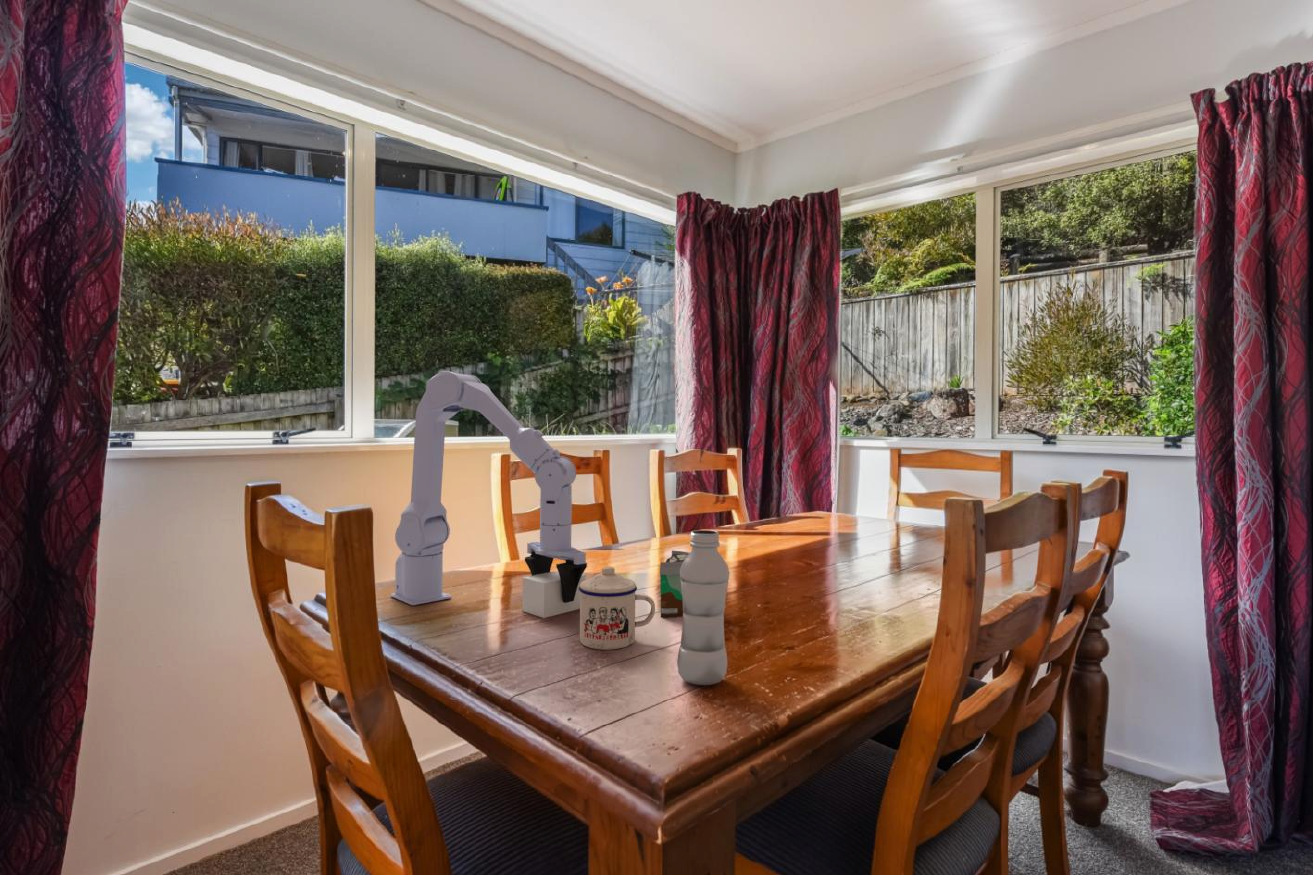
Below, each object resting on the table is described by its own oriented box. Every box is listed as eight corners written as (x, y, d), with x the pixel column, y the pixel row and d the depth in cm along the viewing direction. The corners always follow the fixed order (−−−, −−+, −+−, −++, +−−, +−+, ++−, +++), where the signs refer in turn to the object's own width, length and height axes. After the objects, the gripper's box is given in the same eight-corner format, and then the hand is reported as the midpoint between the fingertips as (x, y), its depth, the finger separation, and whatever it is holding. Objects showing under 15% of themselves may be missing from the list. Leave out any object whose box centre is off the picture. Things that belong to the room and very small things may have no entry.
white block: (522, 610, 120) (522, 577, 120) (563, 600, 127) (564, 569, 127) (543, 618, 116) (544, 583, 116) (585, 607, 123) (585, 574, 123)
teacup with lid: (576, 651, 100) (577, 574, 99) (580, 632, 109) (580, 561, 108) (656, 651, 100) (657, 574, 100) (653, 632, 109) (654, 561, 109)
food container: (693, 622, 115) (694, 564, 115) (659, 619, 116) (659, 562, 116) (703, 603, 127) (704, 551, 127) (671, 601, 128) (672, 549, 128)
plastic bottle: (674, 673, 91) (676, 528, 91) (722, 672, 92) (725, 528, 92) (679, 692, 85) (682, 536, 85) (732, 691, 86) (734, 536, 85)
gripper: (514, 521, 124) (513, 594, 124) (564, 530, 114) (563, 609, 114) (544, 517, 129) (543, 587, 129) (594, 526, 119) (594, 601, 119)
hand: (554, 597), depth 122 cm, fingers open, 7 cm apart
